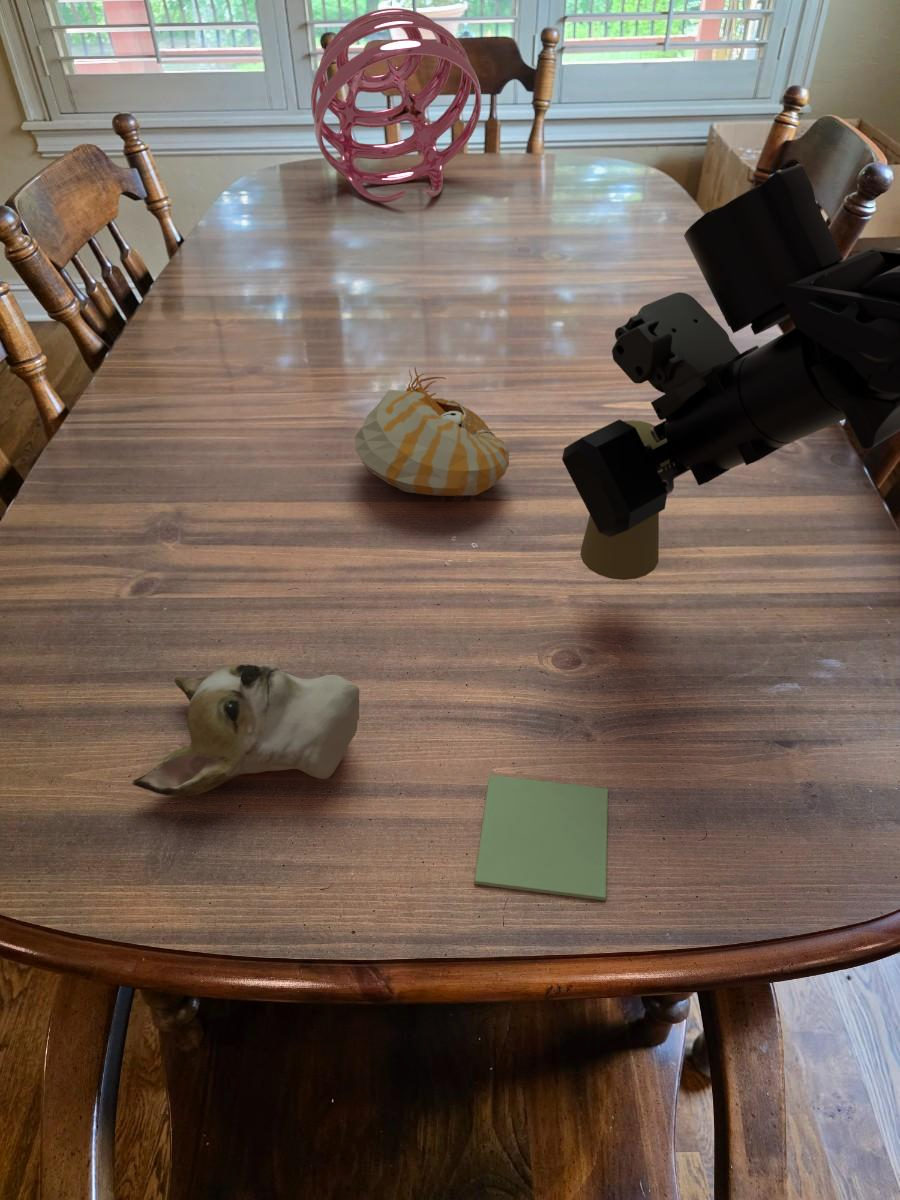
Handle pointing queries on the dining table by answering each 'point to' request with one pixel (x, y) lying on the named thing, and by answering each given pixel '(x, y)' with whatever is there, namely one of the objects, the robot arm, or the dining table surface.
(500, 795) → the coaster
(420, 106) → the spiral basket
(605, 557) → the olive pawn
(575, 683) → the dining table surface
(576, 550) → the dining table surface
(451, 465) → the nautilus
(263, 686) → the ceramic sculpture
